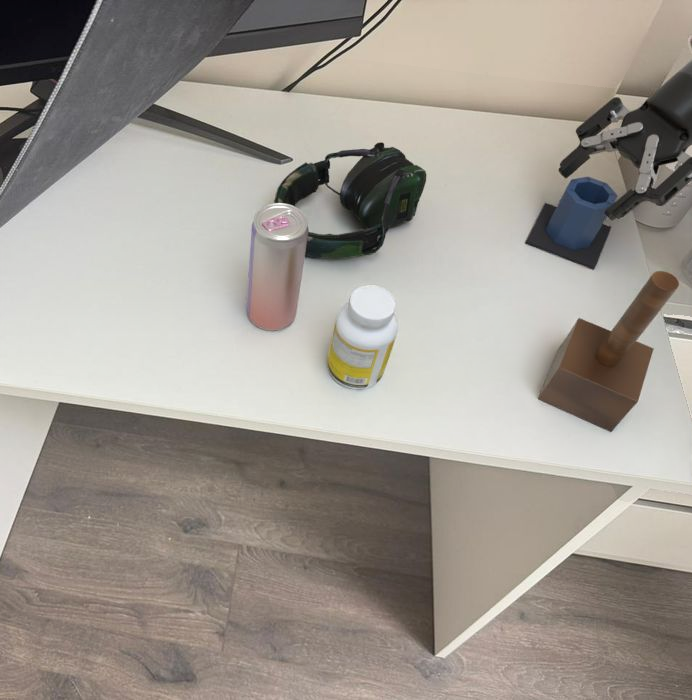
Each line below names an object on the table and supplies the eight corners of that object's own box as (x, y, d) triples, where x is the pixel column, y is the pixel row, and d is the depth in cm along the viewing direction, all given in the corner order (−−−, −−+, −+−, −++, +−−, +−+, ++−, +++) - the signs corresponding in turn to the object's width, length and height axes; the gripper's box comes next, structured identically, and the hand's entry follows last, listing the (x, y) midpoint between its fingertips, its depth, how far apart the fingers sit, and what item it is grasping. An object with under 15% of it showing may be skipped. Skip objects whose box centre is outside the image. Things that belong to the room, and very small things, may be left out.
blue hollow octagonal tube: (596, 228, 95) (620, 187, 89) (585, 254, 92) (609, 214, 86) (553, 212, 97) (574, 171, 91) (541, 238, 94) (562, 197, 88)
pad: (610, 228, 95) (611, 226, 95) (593, 269, 91) (595, 267, 90) (544, 204, 98) (545, 202, 98) (524, 243, 93) (526, 241, 93)
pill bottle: (375, 343, 83) (396, 275, 74) (389, 389, 79) (413, 323, 70) (320, 348, 82) (335, 280, 73) (332, 394, 78) (349, 328, 69)
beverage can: (238, 304, 86) (242, 210, 74) (281, 289, 88) (292, 195, 76) (260, 339, 83) (268, 247, 71) (304, 323, 84) (320, 231, 73)
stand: (627, 380, 80) (718, 270, 66) (611, 432, 76) (704, 326, 62) (557, 350, 83) (630, 238, 68) (537, 399, 79) (611, 290, 64)
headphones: (362, 127, 98) (245, 195, 94) (417, 106, 86) (285, 184, 82) (402, 213, 102) (290, 283, 97) (460, 204, 89) (335, 284, 85)
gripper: (652, 44, 83) (537, 149, 89) (750, 111, 75) (617, 220, 81) (663, 76, 89) (555, 173, 95) (756, 141, 81) (631, 242, 87)
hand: (584, 195), depth 88 cm, fingers open, 8 cm apart
